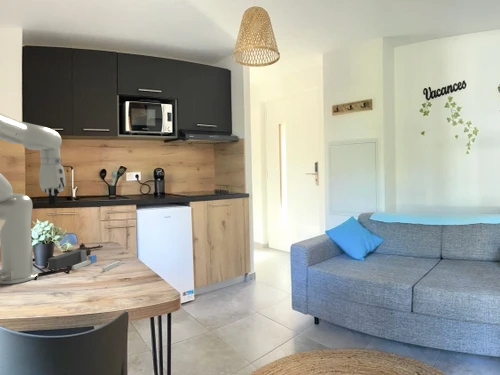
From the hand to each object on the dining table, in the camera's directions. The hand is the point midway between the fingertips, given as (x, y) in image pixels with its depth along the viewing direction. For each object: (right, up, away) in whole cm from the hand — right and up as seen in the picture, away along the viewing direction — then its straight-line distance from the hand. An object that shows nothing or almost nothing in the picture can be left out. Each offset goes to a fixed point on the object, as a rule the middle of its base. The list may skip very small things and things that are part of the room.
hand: (53, 204), depth 151 cm
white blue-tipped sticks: (+17, -25, -7) cm, 31 cm away
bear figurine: (+6, -25, +16) cm, 30 cm away
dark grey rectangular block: (+10, -25, -7) cm, 28 cm away
